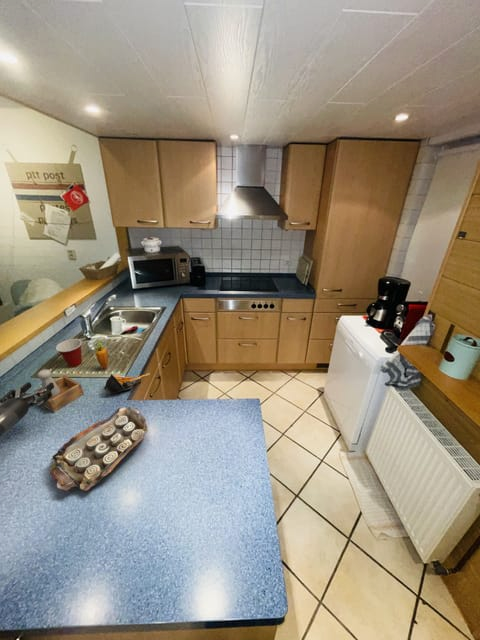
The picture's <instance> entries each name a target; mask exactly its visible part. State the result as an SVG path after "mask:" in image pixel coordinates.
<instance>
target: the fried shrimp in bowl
mask: <svg viewBox="0 0 480 640" xmlns="http://www.w3.org/2000/svg"><path fill="white" fill-rule="evenodd" d="M149 376H151V372H146V373H145V374H142V375H140V376H137V377H134V375H132V376H121V377H120V375H113V374H112V373H111V374H110V376H109V377H108V378H107V380H106V382H105V385H104V390H105V391H106V392H107V393H108V394H109V395H112V394H118V393H120V392H122V391H127V390H130V389H133V386H134V385H136V382H137V381H138V380H141V379H144V378H147V377H149Z"/></svg>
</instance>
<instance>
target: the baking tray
mask: <svg viewBox="0 0 480 640" xmlns="http://www.w3.org/2000/svg"><path fill="white" fill-rule="evenodd" d="M148 431H149V429H148V426H147V422H146V418H145V417H144V415H143V414H142V413H141V412H140V410H138V409H137V408H132V407H131V406H129V407H119V408H117V410H115V411H114V412H113V413H112V414H111V415H110V416H109V417H107V418H104V419H103V420H101V421H98V422H96V423H94V424H92V425H90V426H89V427H87V428H86V429H84V430H82V431H80V432H79V433H77V434H75V436H72V437H71V438H70V439H69V441H67V442H65V443H64V444H63V445H62V446H61V447H60V448H59V449H58V450H57V452H56V453H55V454H54V455H52V458H51V459H50V466H49V468H50V474H51V477H53V478H54V479H55V480H57V483H56V487H57V488H58V489H61V490H64V491H66V492H67V491H68V490H70V489H72V488H74V487H77V488H79V489H80V490H82V491H85V492H86V491H88V490H90V489H92V487H94V486H96V485H97V484H98V483H100V481H102V480H103V478H104V477H105V476H108V474H109V473H112V471H113V470H114V468H115V467H116V466H117V465H118V464H119V463H120V462H121V460H122V459H124V458H125V456H127V455H128V453H129V452H130V451H131V450H133V449H134V448H136V446H137V445H138V444H139V442H141V441H142V440H143V438H144V437H145V436H146V434H147V433H148Z"/></svg>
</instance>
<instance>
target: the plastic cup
mask: <svg viewBox="0 0 480 640" xmlns="http://www.w3.org/2000/svg"><path fill="white" fill-rule="evenodd" d="M82 343H83V342H82V340H81V339H79V338H69V339H67V340H63V341H61V342H60V343H58V344H57V345H56V346H55V349H56V351H57V352H58V353H60V355H61V357H63V360H64V361H65V363H66V364H67V365H68V368H76V367H79V366H81V365H82V363H83V357H82Z"/></svg>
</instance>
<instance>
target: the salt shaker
mask: <svg viewBox="0 0 480 640" xmlns="http://www.w3.org/2000/svg"><path fill="white" fill-rule="evenodd" d="M37 377H38V379H39V380H40V381H41V387H42V389H44V388H45V387H46V386H47V385H48V384H49V383H53V384H54V388H53V389H52V390H51V393H52V395H53V396H52V397H51V398H50V399H53V398H55V397H56V396H58V395H60V389H59V387H58V386H57V384H56V383H55V379H54V378H53V377H52V371H51V370H50V369H43V370H40V371H39V372H38V373H37ZM43 394H44V392H43Z"/></svg>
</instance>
